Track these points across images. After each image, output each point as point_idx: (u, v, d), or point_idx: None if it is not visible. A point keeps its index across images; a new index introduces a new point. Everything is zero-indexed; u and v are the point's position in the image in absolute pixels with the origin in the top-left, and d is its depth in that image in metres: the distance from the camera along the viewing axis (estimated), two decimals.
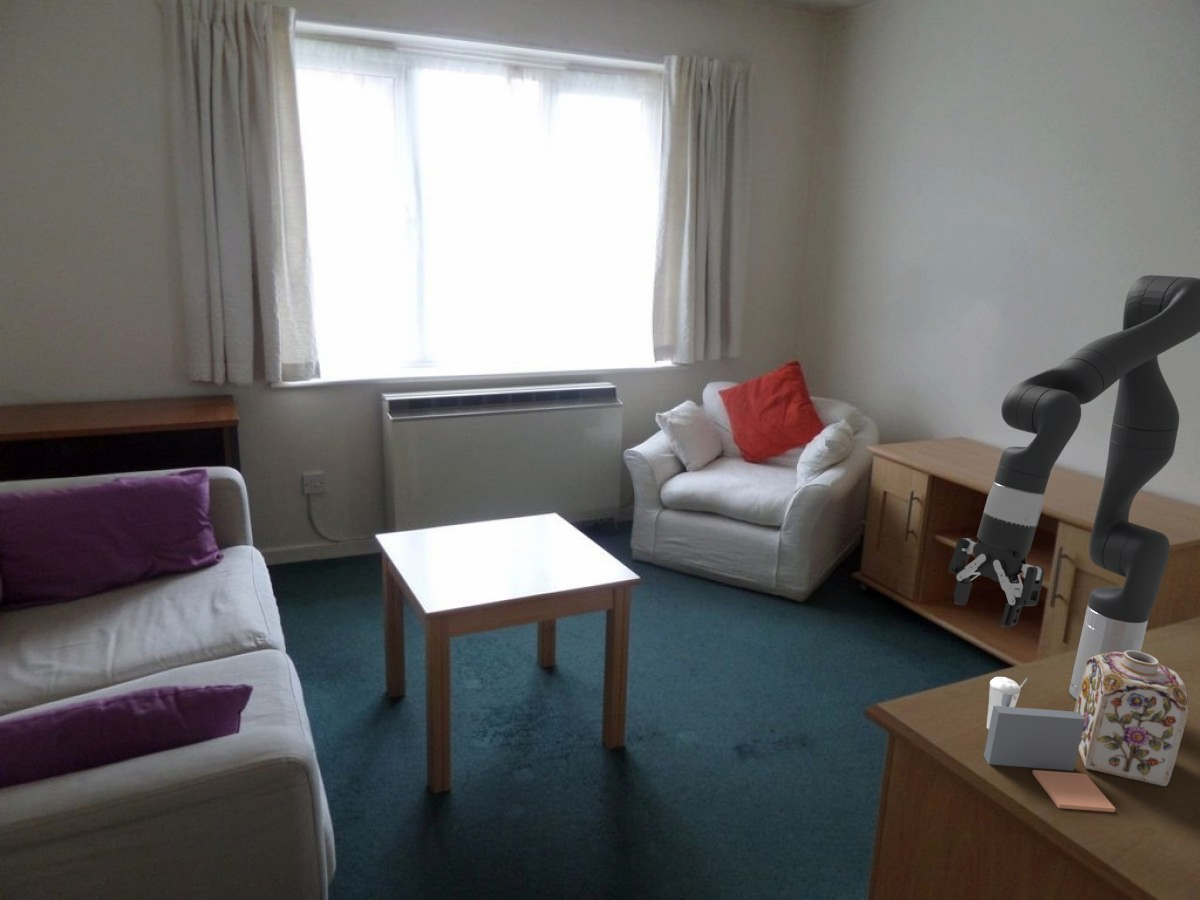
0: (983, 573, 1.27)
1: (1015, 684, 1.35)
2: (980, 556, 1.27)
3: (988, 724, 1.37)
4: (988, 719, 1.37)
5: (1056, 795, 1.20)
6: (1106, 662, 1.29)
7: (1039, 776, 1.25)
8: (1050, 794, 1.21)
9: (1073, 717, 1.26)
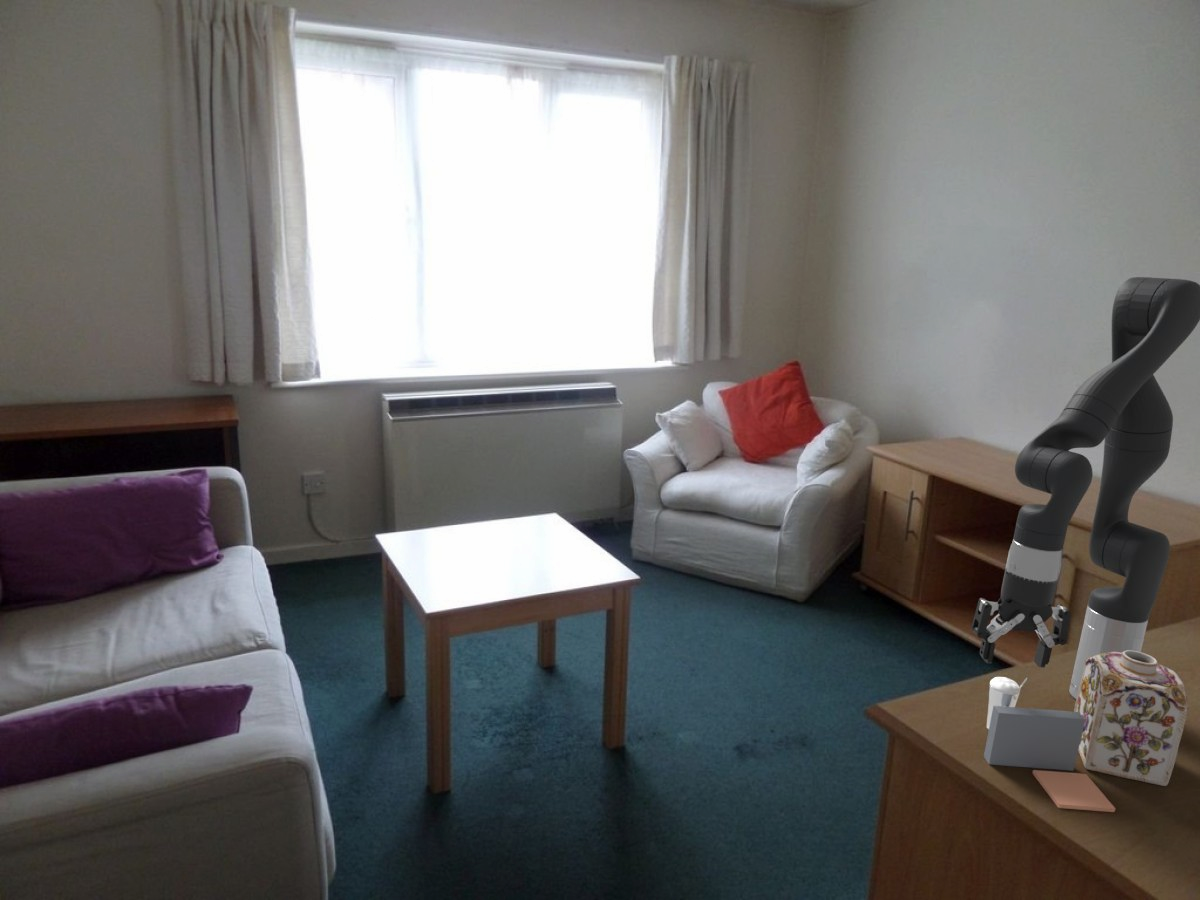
0: (1016, 628, 1.32)
1: (1015, 684, 1.35)
2: (1018, 616, 1.30)
3: (988, 724, 1.37)
4: (988, 719, 1.37)
5: (1056, 795, 1.20)
6: (1105, 662, 1.29)
7: (1039, 776, 1.25)
8: (1050, 794, 1.21)
9: (1073, 717, 1.26)
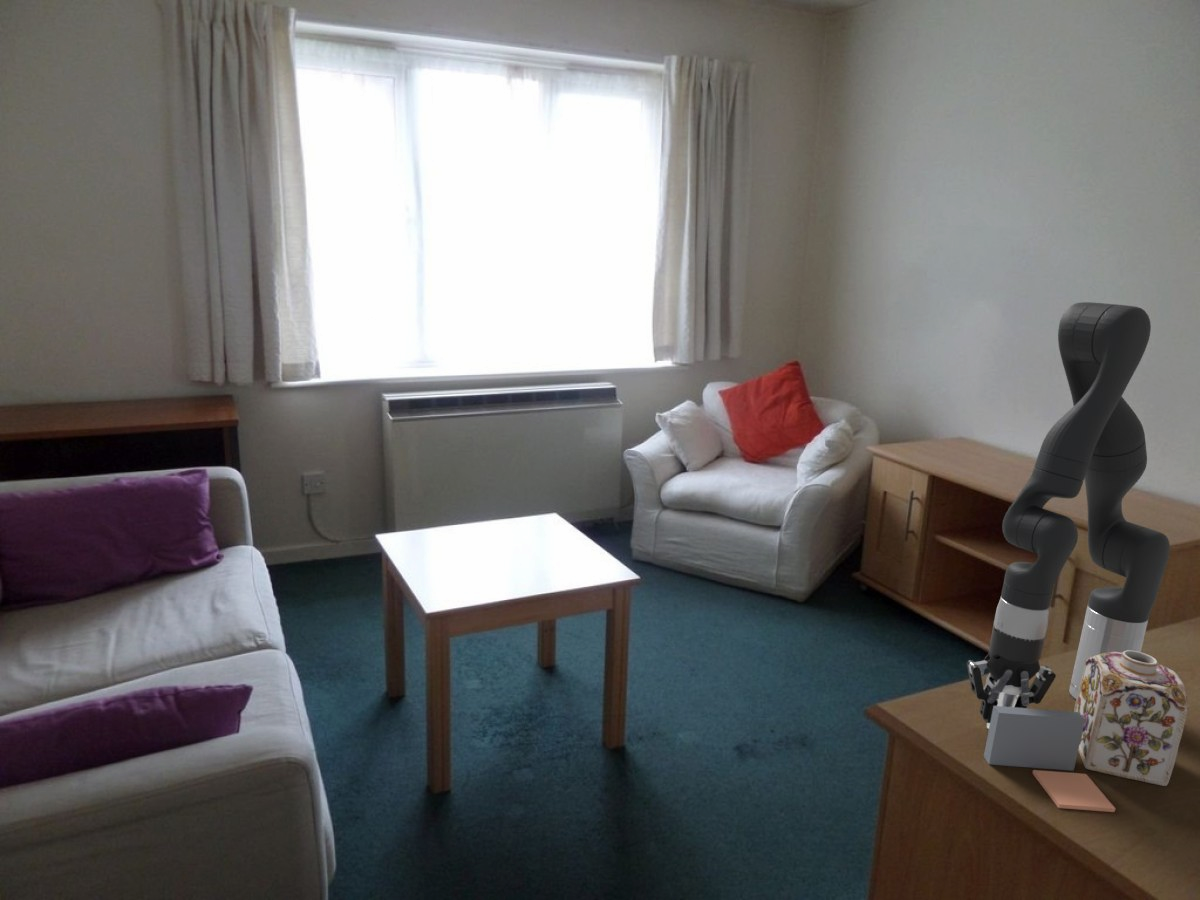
0: None
1: None
2: (1006, 673, 1.33)
3: (988, 724, 1.37)
4: None
5: (1056, 795, 1.20)
6: (1105, 662, 1.29)
7: (1039, 776, 1.25)
8: (1050, 794, 1.21)
9: (1073, 717, 1.26)
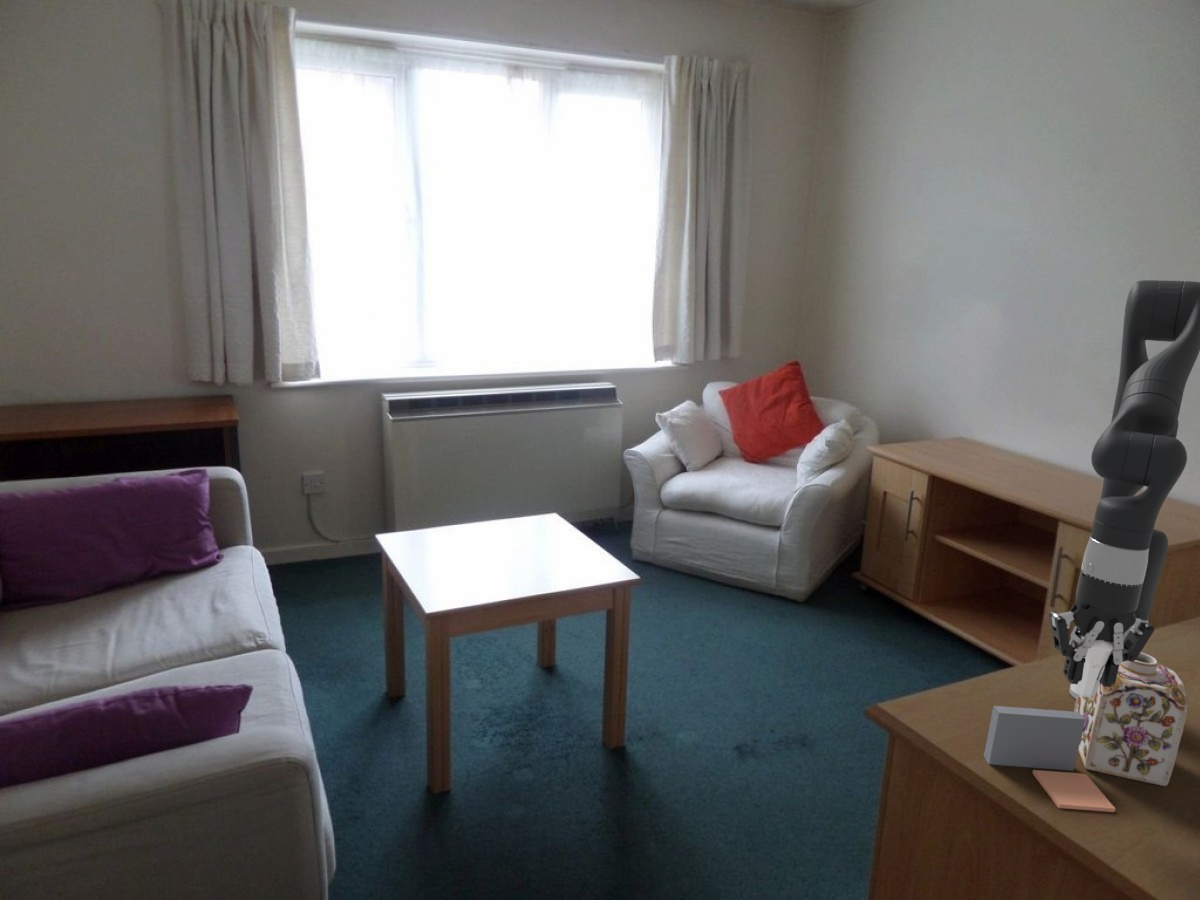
0: None
1: None
2: (1096, 625, 1.15)
3: (1073, 685, 1.20)
4: None
5: (1056, 795, 1.20)
6: None
7: (1039, 776, 1.25)
8: (1050, 794, 1.21)
9: (1073, 717, 1.26)
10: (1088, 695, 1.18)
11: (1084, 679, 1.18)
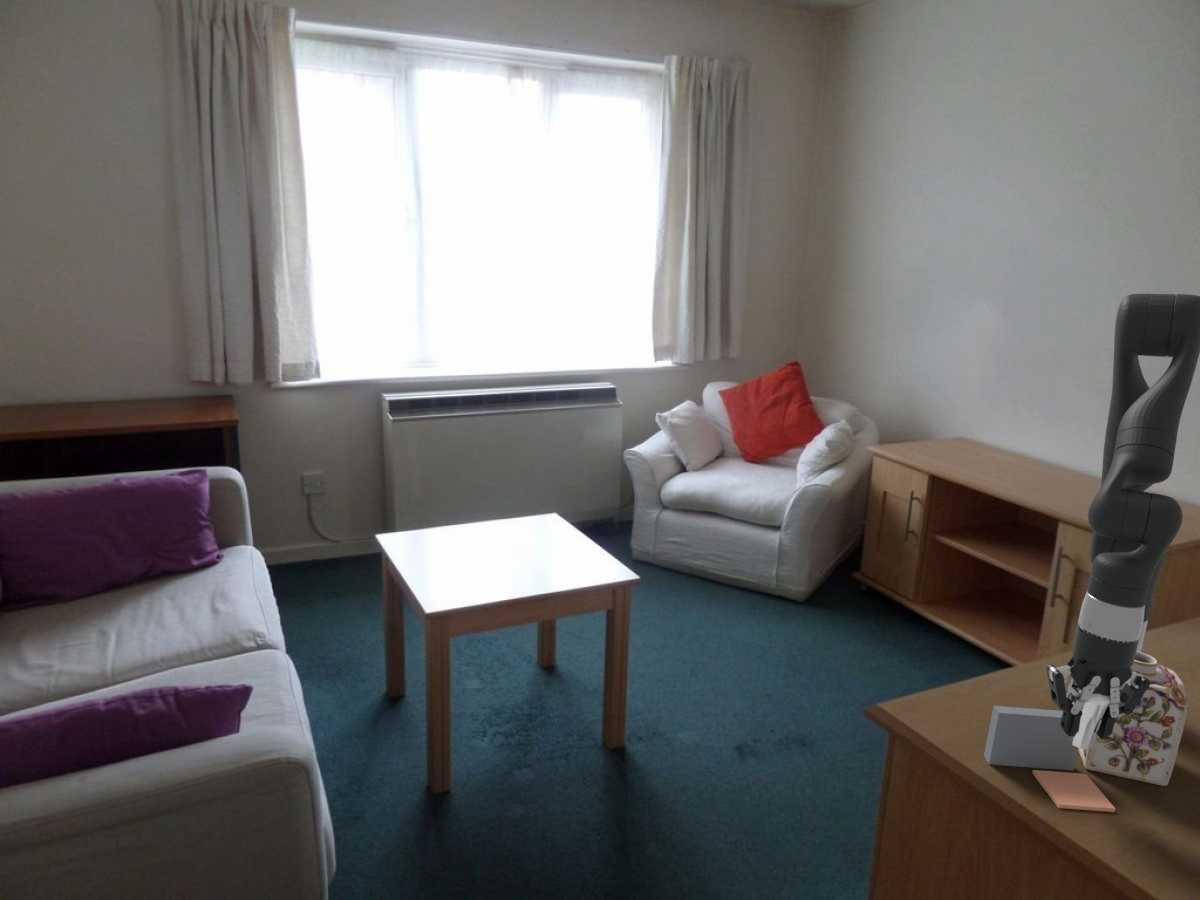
0: None
1: None
2: (1093, 680, 1.16)
3: (1070, 737, 1.20)
4: None
5: (1056, 795, 1.20)
6: None
7: (1039, 776, 1.25)
8: (1050, 794, 1.21)
9: None
10: (1085, 747, 1.19)
11: (1081, 731, 1.19)
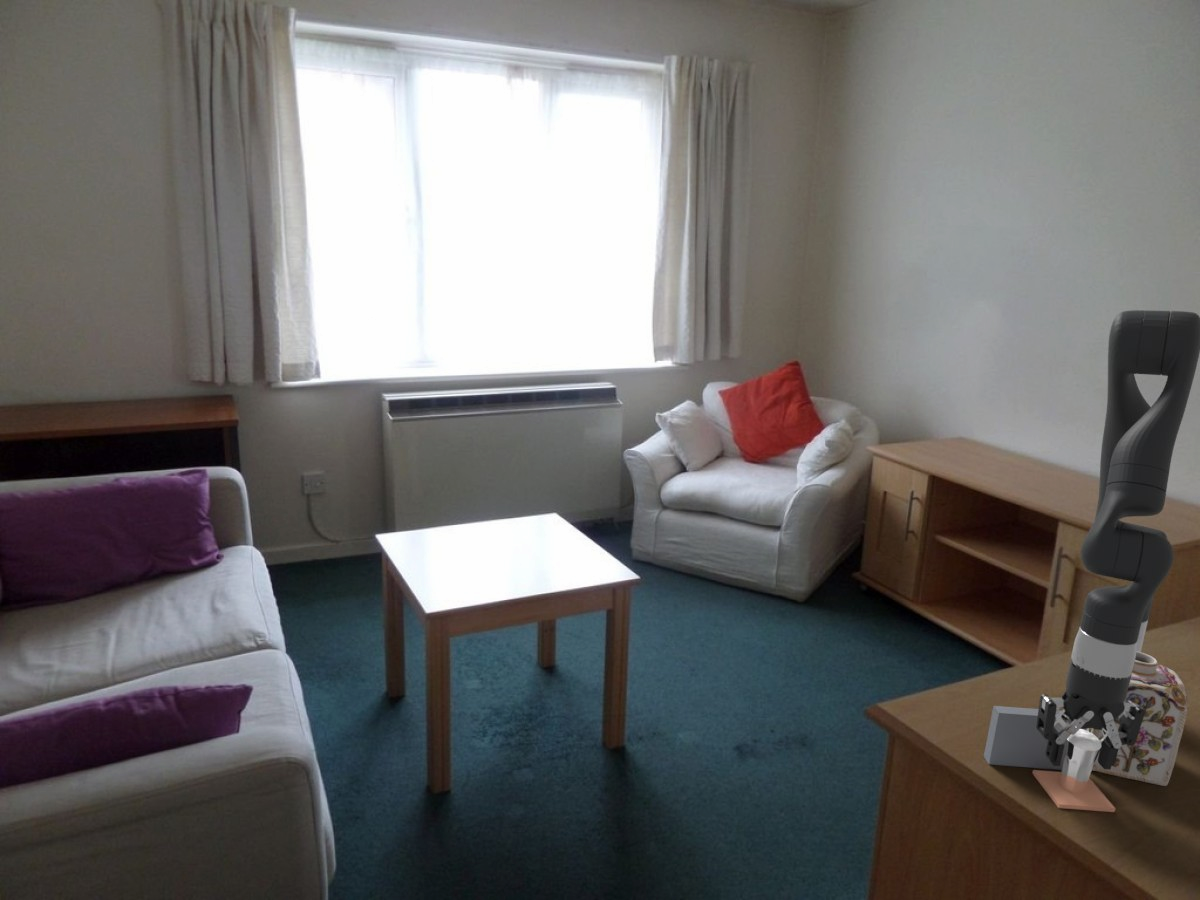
0: (1084, 726, 1.18)
1: (1095, 738, 1.20)
2: (1086, 714, 1.17)
3: (1062, 781, 1.22)
4: (1062, 776, 1.22)
5: (1056, 795, 1.20)
6: None
7: (1039, 776, 1.25)
8: (1050, 794, 1.21)
9: None
10: (1077, 791, 1.21)
11: (1073, 776, 1.20)
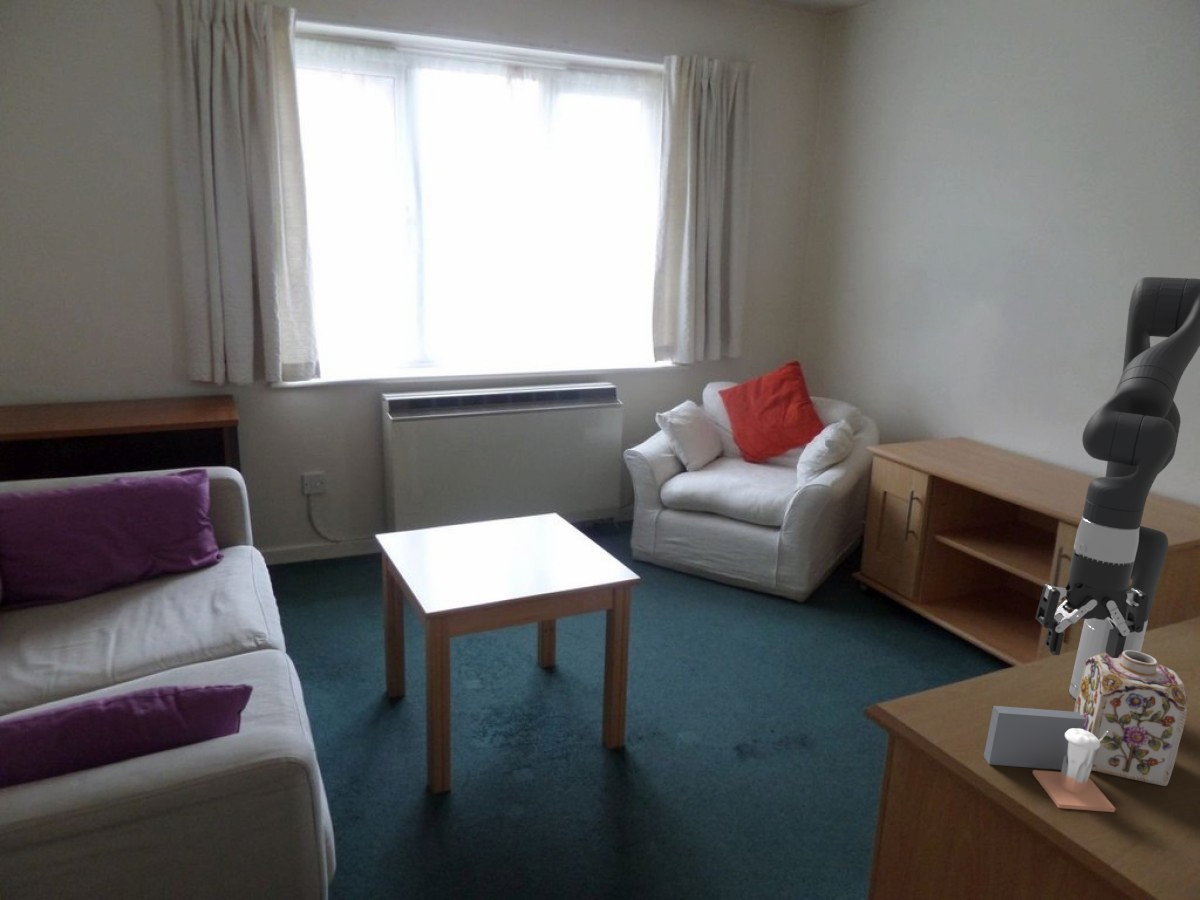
0: (1087, 616, 1.18)
1: (1094, 737, 1.20)
2: (1090, 602, 1.17)
3: (1062, 781, 1.22)
4: (1062, 776, 1.22)
5: (1056, 795, 1.20)
6: (1105, 662, 1.29)
7: (1039, 776, 1.25)
8: (1050, 794, 1.21)
9: (1073, 717, 1.26)
10: (1076, 791, 1.21)
11: (1072, 776, 1.21)
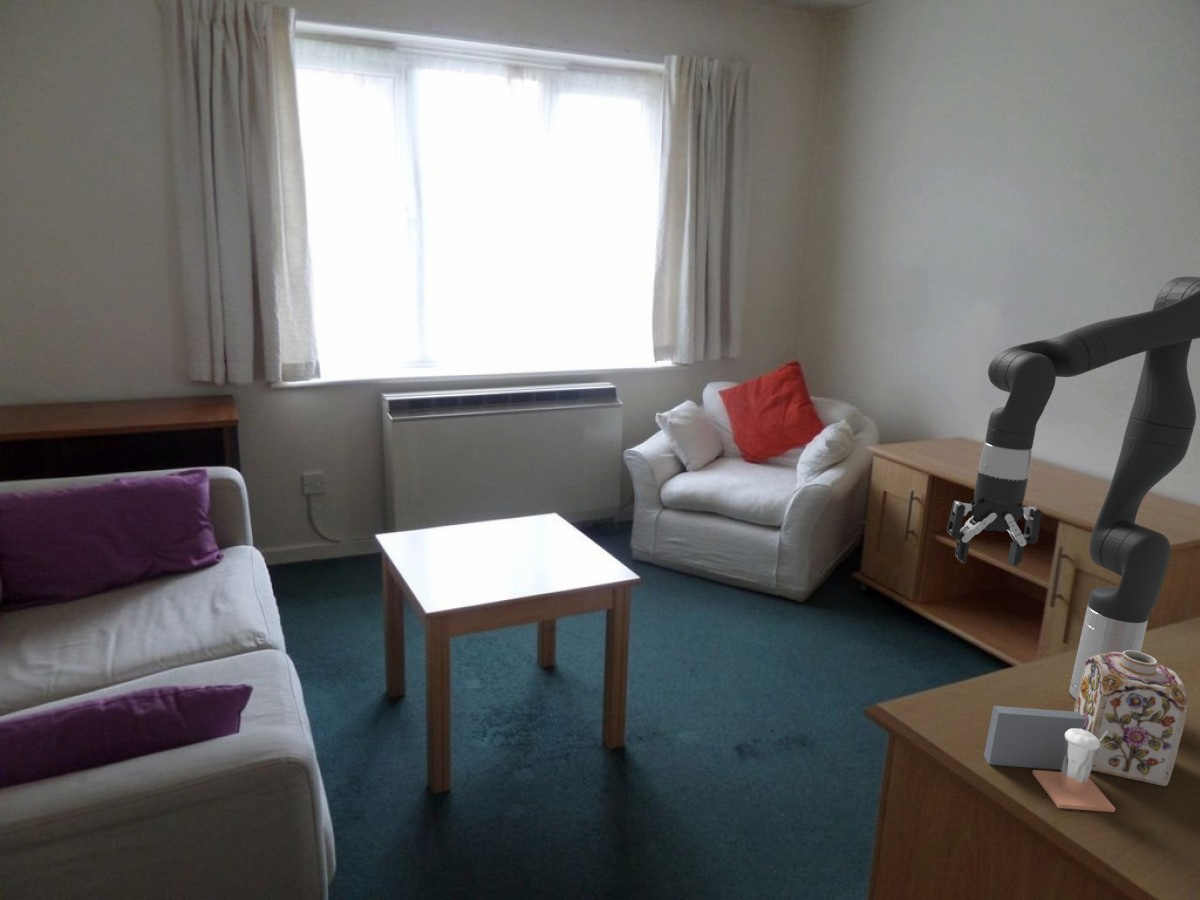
0: (989, 528, 1.37)
1: (1094, 737, 1.20)
2: (990, 515, 1.36)
3: (1062, 781, 1.22)
4: (1062, 776, 1.22)
5: (1056, 795, 1.20)
6: (1105, 662, 1.29)
7: (1039, 776, 1.25)
8: (1050, 794, 1.21)
9: (1073, 717, 1.26)
10: (1076, 791, 1.21)
11: (1072, 776, 1.21)
